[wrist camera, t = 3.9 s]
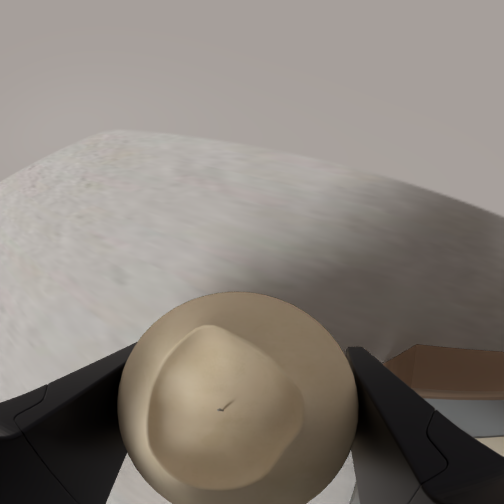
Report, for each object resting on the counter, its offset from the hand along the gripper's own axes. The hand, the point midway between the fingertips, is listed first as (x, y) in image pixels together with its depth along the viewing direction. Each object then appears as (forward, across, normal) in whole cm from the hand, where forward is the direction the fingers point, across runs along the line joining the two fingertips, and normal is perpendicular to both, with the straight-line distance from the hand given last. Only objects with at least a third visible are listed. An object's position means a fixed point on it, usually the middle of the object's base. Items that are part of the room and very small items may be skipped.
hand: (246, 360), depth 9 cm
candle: (+4, 0, +6) cm, 7 cm away
